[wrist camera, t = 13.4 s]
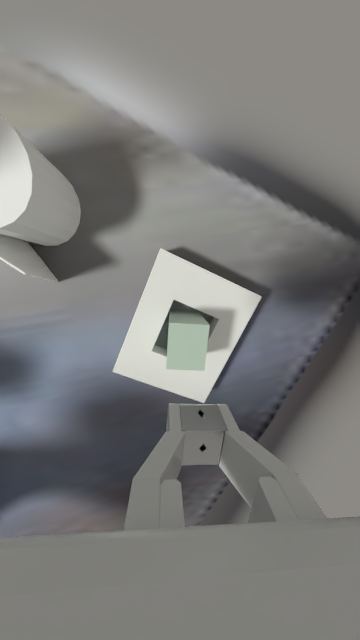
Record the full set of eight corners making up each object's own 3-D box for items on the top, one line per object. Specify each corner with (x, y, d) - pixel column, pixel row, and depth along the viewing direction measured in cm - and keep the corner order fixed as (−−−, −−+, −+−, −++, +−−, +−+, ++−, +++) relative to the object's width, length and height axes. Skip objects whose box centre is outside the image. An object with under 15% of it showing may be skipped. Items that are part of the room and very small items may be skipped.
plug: (195, 347, 23) (204, 370, 18) (167, 346, 23) (166, 369, 17) (199, 312, 22) (209, 325, 16) (169, 311, 22) (169, 322, 16)
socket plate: (200, 391, 25) (203, 403, 23) (118, 362, 24) (112, 371, 21) (251, 294, 22) (261, 296, 20) (161, 251, 20) (160, 248, 18)
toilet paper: (57, 282, 21) (3, 284, 14) (-14, 190, 18) (-124, 137, 11) (112, 246, 20) (82, 230, 13) (46, 146, 17) (-32, 62, 11)
